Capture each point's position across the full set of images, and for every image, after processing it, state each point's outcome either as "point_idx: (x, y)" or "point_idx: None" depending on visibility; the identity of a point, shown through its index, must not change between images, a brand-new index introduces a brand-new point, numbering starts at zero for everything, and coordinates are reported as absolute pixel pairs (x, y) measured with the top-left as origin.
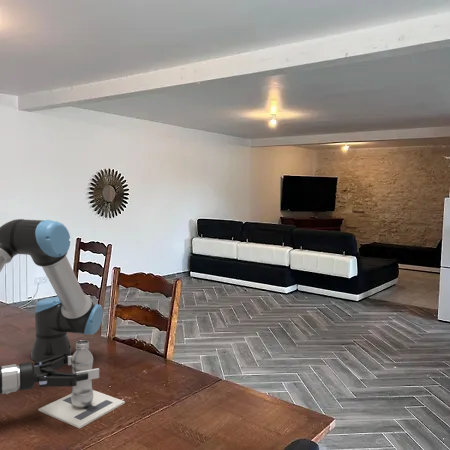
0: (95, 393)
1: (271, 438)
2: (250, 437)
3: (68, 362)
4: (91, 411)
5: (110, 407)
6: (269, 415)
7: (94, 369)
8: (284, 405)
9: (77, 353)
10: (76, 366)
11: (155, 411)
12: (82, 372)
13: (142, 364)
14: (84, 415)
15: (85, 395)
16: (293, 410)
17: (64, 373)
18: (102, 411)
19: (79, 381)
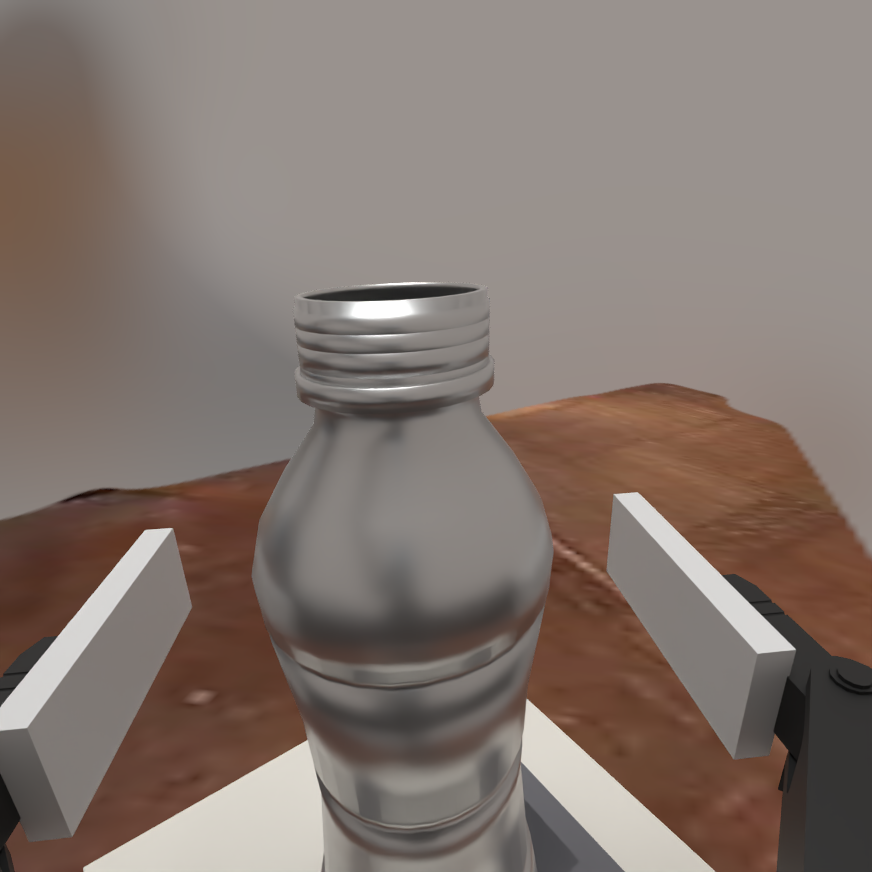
0: (268, 793)
1: (753, 428)
2: (757, 445)
3: (61, 796)
4: (571, 860)
5: (529, 723)
6: (636, 415)
7: (647, 514)
8: (588, 399)
9: (466, 466)
10: (528, 640)
11: (587, 569)
12: (738, 598)
13: (89, 548)
14: None
15: (526, 822)
16: (614, 396)
17: (867, 841)
18: (581, 777)
19: (518, 772)
